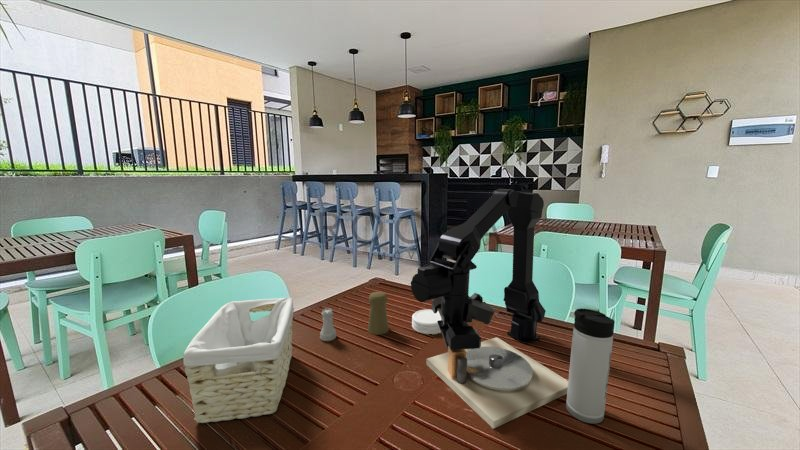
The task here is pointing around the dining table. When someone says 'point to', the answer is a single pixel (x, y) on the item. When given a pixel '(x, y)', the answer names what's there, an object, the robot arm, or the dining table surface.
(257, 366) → the storage basket
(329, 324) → the white chess piece
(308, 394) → the dining table surface
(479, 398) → the birch base board
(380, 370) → the dining table surface
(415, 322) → the coaster
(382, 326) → the cork
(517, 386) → the flange plate
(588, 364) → the travel mug
